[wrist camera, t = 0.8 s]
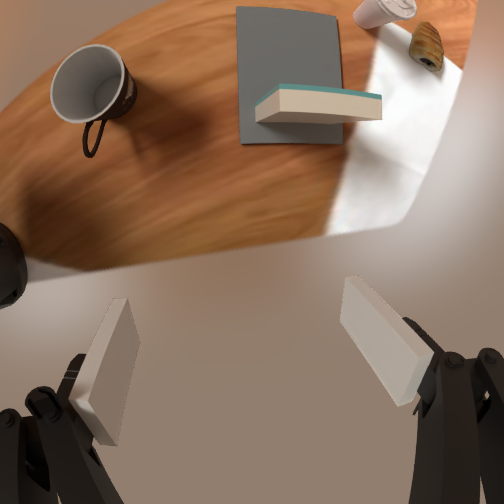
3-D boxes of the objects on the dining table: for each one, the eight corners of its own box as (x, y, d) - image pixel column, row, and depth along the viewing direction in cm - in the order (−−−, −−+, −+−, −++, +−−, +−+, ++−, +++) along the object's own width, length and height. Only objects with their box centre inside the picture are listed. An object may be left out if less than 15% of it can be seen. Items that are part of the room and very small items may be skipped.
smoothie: (379, 42, 32) (438, 19, 19) (342, 27, 30) (395, -8, 18) (382, 12, 30) (436, -16, 17) (346, -3, 28) (394, -41, 15)
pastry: (410, 16, 30) (423, 10, 26) (438, 35, 31) (451, 32, 28) (405, 57, 33) (420, 53, 29) (434, 76, 34) (449, 73, 31)
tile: (255, 122, 34) (279, 111, 22) (255, 103, 33) (279, 83, 21) (329, 124, 35) (382, 119, 23) (329, 106, 34) (381, 95, 22)
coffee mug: (106, 57, 28) (77, 35, 19) (157, 79, 31) (140, 58, 21) (66, 133, 31) (27, 134, 22) (114, 157, 33) (84, 163, 24)
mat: (240, 143, 35) (240, 143, 35) (236, 8, 28) (236, 6, 28) (341, 144, 37) (343, 144, 36) (334, 17, 30) (335, 16, 29)
